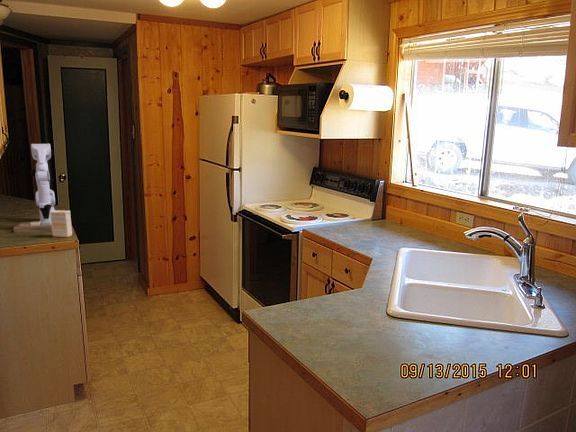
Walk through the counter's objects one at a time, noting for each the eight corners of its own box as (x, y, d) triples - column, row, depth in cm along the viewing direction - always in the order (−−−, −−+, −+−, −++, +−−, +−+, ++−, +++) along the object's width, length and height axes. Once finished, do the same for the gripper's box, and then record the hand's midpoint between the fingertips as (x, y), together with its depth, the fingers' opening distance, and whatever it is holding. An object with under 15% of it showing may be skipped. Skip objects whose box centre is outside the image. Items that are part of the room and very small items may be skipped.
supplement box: (72, 235, 251) (70, 210, 248) (67, 237, 246) (65, 212, 243) (57, 234, 251) (55, 209, 249) (52, 237, 247) (49, 211, 244)
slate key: (43, 224, 264) (43, 221, 264) (52, 224, 265) (51, 220, 265) (41, 226, 260) (41, 222, 260) (50, 226, 261) (49, 222, 261)
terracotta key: (22, 227, 262) (21, 223, 262) (30, 227, 263) (30, 223, 263) (19, 229, 258) (19, 225, 258) (28, 229, 259) (27, 225, 259)
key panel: (21, 226, 266) (21, 222, 266) (57, 225, 270) (56, 221, 270) (13, 232, 254) (13, 227, 253) (51, 231, 258) (50, 226, 257)
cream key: (32, 225, 263) (32, 221, 263) (41, 225, 264) (41, 221, 264) (30, 227, 259) (30, 223, 259) (39, 226, 260) (38, 222, 260)
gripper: (39, 191, 265) (42, 216, 268) (31, 196, 251) (34, 221, 254) (53, 191, 267) (55, 215, 269) (46, 195, 253) (49, 221, 256)
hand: (46, 218), depth 262 cm, fingers closed
